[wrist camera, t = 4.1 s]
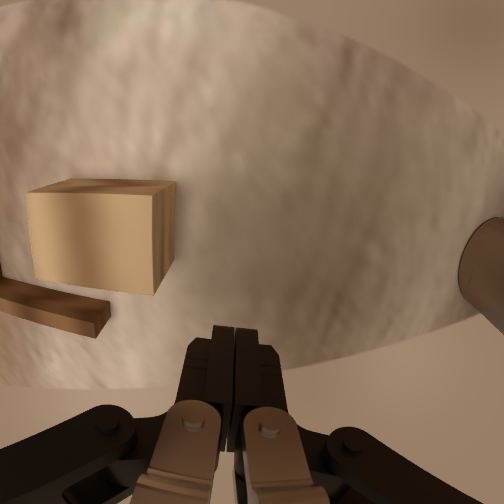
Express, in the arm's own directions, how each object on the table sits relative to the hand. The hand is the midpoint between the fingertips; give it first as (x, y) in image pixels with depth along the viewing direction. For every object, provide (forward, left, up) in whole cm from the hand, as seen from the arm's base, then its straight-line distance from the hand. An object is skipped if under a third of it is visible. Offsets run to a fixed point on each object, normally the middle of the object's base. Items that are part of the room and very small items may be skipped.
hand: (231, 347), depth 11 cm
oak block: (+9, 0, -13) cm, 16 cm away
